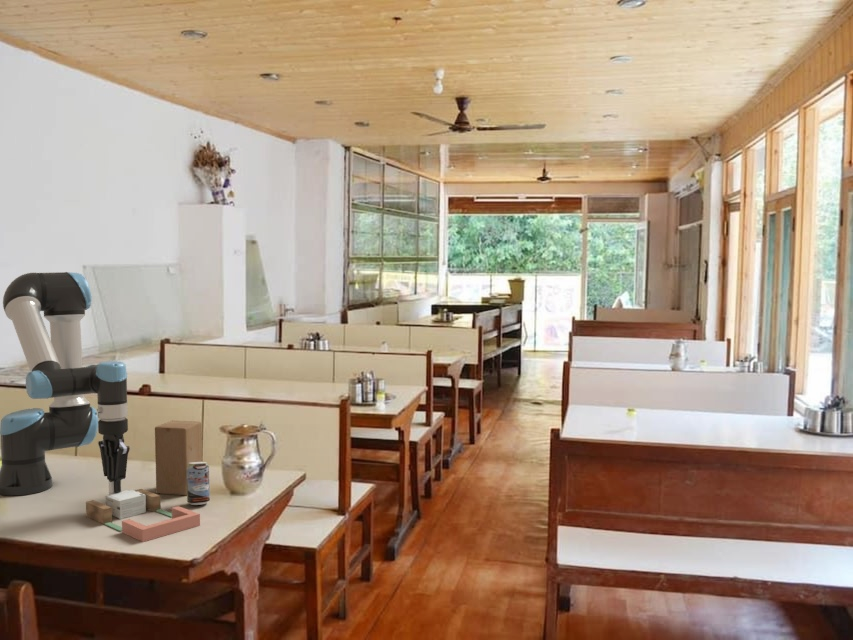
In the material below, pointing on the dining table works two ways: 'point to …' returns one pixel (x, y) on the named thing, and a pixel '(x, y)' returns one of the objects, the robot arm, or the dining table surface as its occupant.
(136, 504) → the small box
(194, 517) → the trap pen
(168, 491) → the wooden block
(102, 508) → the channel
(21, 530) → the dining table surface
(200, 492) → the beverage can
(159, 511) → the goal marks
